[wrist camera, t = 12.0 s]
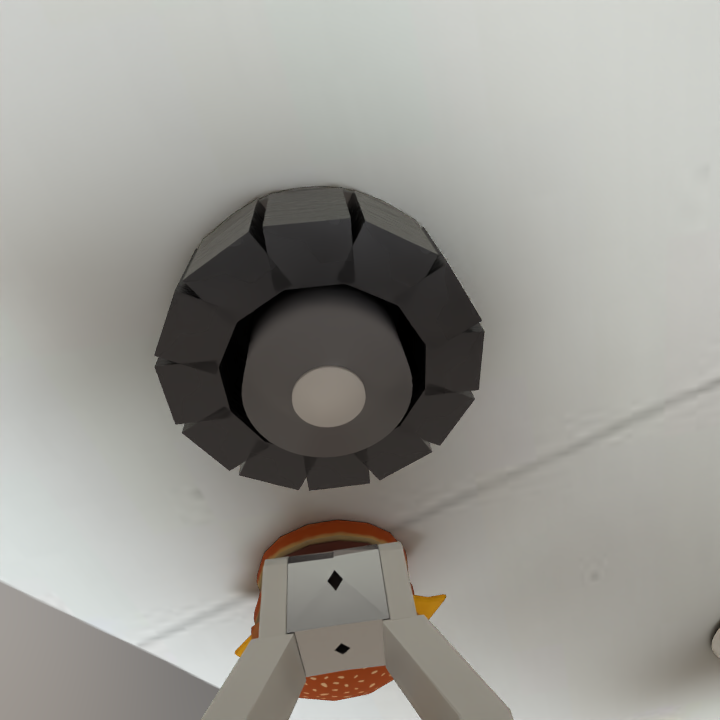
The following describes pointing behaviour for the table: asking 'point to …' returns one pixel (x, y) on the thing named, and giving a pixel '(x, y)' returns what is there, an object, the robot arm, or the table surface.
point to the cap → (325, 371)
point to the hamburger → (327, 540)
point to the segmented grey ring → (311, 269)
